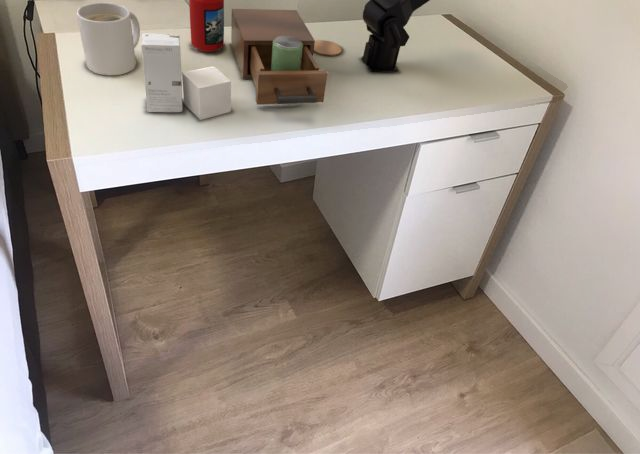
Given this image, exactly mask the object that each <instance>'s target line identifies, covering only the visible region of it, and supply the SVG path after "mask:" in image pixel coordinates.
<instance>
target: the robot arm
mask: <svg viewBox="0 0 640 454" xmlns="http://www.w3.org/2000/svg"><path fill="white" fill-rule="evenodd" d="M430 1H431V0H368V1H367V2H366V3H365V4H364V8H363V11H362V21H363V22H364V23H365V25H366V31H367V32H369V33H370V34H369V36H368V41H366V43H365V46H364V51H363V55H362V56H361V60H362V62H363V64H364V65H365V66H366V67H367V69H368V70H369V72H371V73H397V72H399V68H398V66H397V62H398V57H399V53H400V50H401V47H405V46H406V44H408V41H409V39H410V35H409V33H408V32H407V30H406V29H405V26H406V25H407V24H408V22H409V20H410V19H411V17H412V15H413V13H414V12H415V11H417V10H418V9H420V8H421V7H422V6H424V5H425V4H427V3H428V2H430Z"/></svg>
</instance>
